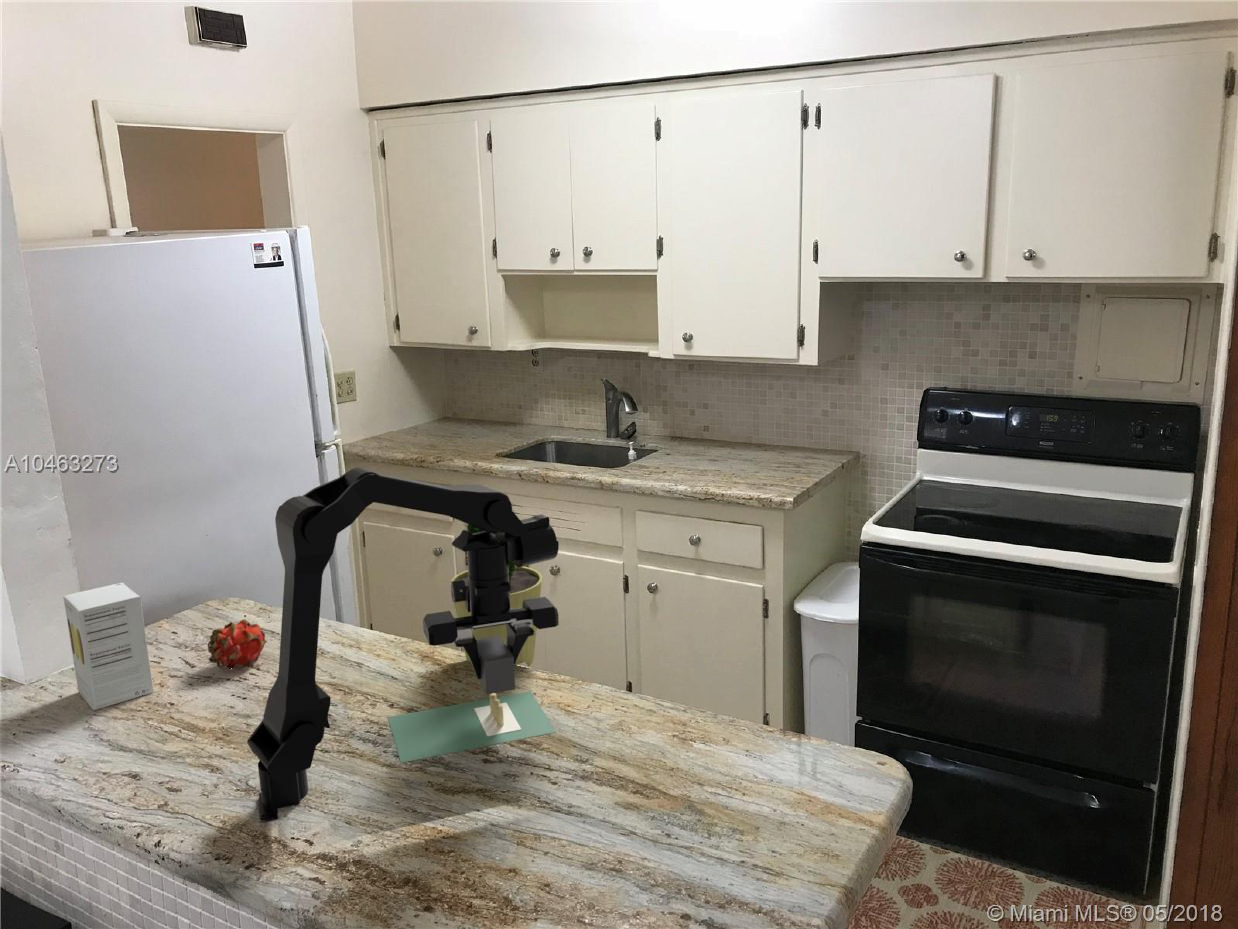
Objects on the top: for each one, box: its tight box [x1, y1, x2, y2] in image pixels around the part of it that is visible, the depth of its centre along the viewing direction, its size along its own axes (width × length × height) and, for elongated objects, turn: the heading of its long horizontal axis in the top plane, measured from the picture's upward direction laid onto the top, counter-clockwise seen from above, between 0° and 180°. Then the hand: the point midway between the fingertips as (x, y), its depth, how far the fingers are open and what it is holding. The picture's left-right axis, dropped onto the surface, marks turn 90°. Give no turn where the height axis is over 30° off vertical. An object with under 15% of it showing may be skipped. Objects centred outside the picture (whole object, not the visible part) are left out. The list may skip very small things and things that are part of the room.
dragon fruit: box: [207, 619, 268, 670], centre depth 168 cm, size 8×8×12 cm
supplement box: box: [63, 582, 154, 711], centre depth 157 cm, size 10×9×17 cm
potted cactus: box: [449, 503, 543, 668], centre depth 164 cm, size 15×15×30 cm
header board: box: [387, 690, 557, 764], centre depth 142 cm, size 14×22×4 cm, turn 110°
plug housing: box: [473, 636, 516, 695], centre depth 143 cm, size 11×4×5 cm, turn 20°
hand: (494, 675), depth 142 cm, fingers closed on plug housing, 4 cm apart
